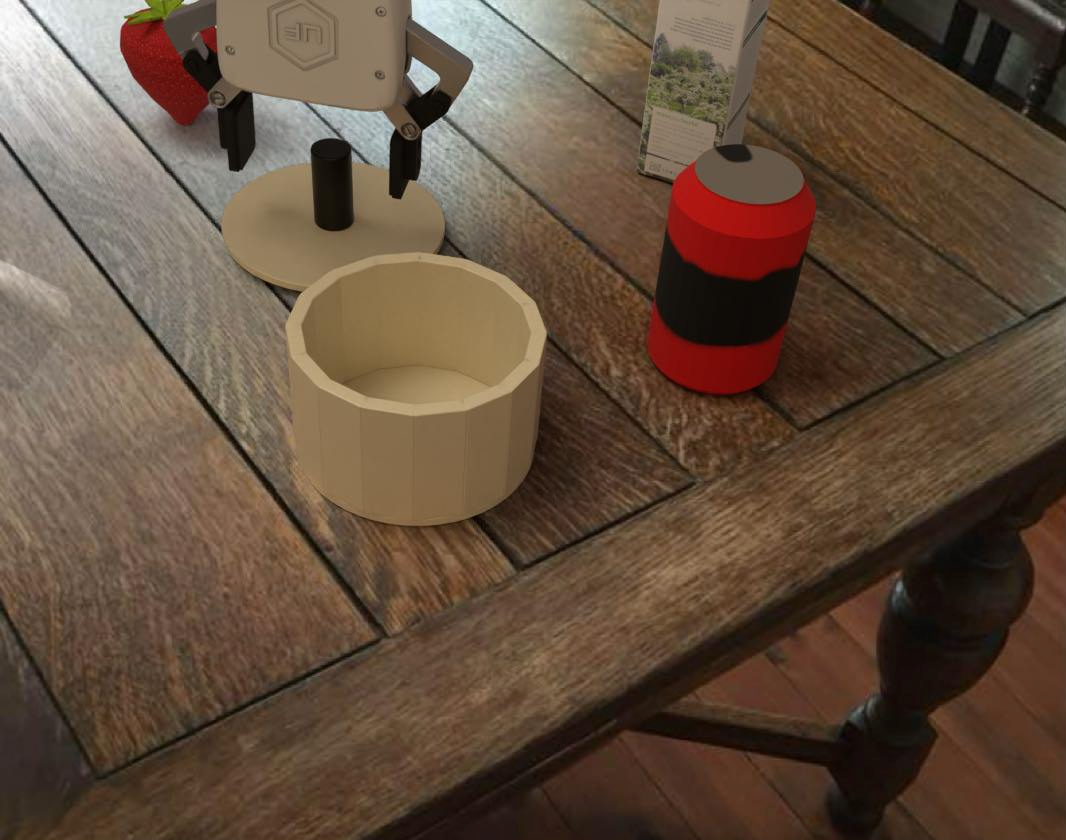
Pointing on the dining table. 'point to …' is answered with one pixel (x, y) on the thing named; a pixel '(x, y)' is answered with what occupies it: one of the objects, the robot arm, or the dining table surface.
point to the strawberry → (163, 61)
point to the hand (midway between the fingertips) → (321, 173)
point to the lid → (326, 218)
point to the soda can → (729, 268)
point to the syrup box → (698, 80)
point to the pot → (415, 387)
